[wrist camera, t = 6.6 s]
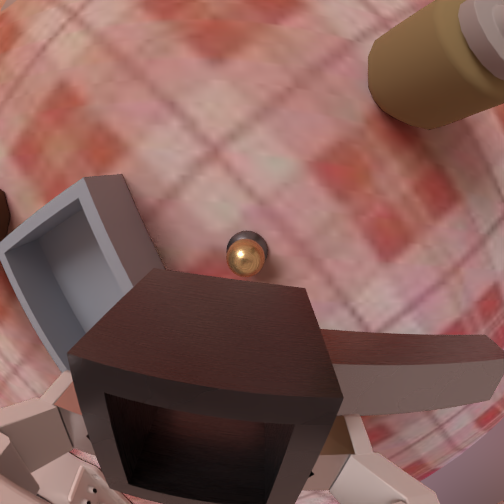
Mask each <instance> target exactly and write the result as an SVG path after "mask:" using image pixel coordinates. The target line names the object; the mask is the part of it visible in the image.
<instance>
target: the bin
mask: <svg viewBox="0 0 504 504" xmlns="http://www.w3.org/2000/svg"><path fill="white" fill-rule="evenodd" d="M0 261H1V263H2V265H3V268H4V270H5V272H6V274H7V277H8V279H9V281H10V283H11V285H12V287H13V290H14V292H15V294H16V296H17V298H18V300H19V302H20V304H21V306H22V307H23V309H24V311H25V313H26V315H27V317H28V319H29V320H30V322H31V324H32V326H33V328H34V329H35V331H36V333H37V334H38V336H39V338H40V339H41V341H42V343H43V344H44V346H45V348H46V349H47V351H48V352H49V354H50V356H51V357H52V359H53V360H54V362H55V363H56V365H57V366H58V368H59V369H60V371H61V372H62V373H63V372H64V371H67V370H69V371H70V367H69V362H68V357H67V352H68V351H69V350H70V349H71V348H72V347H73V346H74V345H75V344H76V343H77V342H78V341H79V340H80V339H81V338H82V337H83V336H84V335H85V334H86V333H87V332H88V331H89V330H90V329H91V328H92V327H93V326H94V325H95V324H96V323H97V322H98V321H99V320H100V319H101V318H102V317H103V316H104V315H105V314H106V313H107V312H108V311H109V310H110V309H111V308H112V307H113V306H114V305H115V304H116V303H117V302H118V301H119V300H120V299H121V298H122V297H123V296H125V295H126V294H127V293H128V292H129V291H130V290H131V289H132V288H133V287H134V286H135V285H136V284H137V283H138V282H139V281H140V280H141V279H142V278H144V277H145V276H146V275H147V274H148V273H149V272H150V271H151V270H152V269H153V268H156V269H163V270H166V269H165V267H164V265H163V263H162V261H161V259H160V257H159V255H158V253H157V251H156V249H155V247H154V245H153V243H152V241H151V239H150V236H149V234H148V232H147V230H146V228H145V226H144V224H143V221H142V219H141V217H140V215H139V213H138V210H137V208H136V206H135V204H134V201H133V199H132V197H131V194H130V192H129V190H128V187H127V185H126V183H125V180H124V178H123V175H122V174H117V175H104V176H93V177H83V178H82V179H81V180H79V181H78V182H76V183H75V184H73V185H72V186H70V187H69V188H68V189H66V190H65V191H63V192H62V193H61V194H59V195H58V196H57V197H55V198H54V199H52V200H51V201H50V202H48V203H47V204H46V205H45V206H43V207H42V208H41V209H39V210H38V211H37V212H36V213H34V214H33V215H32V216H31V217H29V218H28V219H27V220H26V221H24V222H23V223H22V224H21V225H20V226H18V227H17V228H16V229H15V230H14V231H12V232H11V233H10V234H9V235H8V236H7V237H6V238H4V239H3V240H2V241H1V242H0Z"/></svg>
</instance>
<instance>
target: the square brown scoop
mask: <svg viewBox="0 0 504 504" xmlns="http://www.w3.org/2000/svg"><path fill="white" fill-rule="evenodd" d="M67 357H68V362H69V367H70V371H71V376H72V380H73V384H74V388H75V392H76V395H77V399H78V403H79V406H80V410H81V413H82V416H83V420H84V423H85V426H86V429H87V432H88V435H89V438H90V441H91V444H92V447H93V449H94V452H95V455H96V457H97V460H98V462H99V465H100V467H101V470H102V472H103V475H104V477H105V479H106V482H107V484H108V486H109V488H110V489H113V490H116V491H119V492H122V493H125V494H129V495H132V496H135V497H139V498H142V499H146V500H150V501H154V502H158V503H162V504H295V502H296V500H297V498H298V496H299V495H300V493H301V491H302V489H303V487H304V485H305V483H306V481H307V479H308V477H309V475H310V473H311V471H312V469H313V467H314V465H315V463H316V461H317V459H318V457H319V455H320V453H321V450H322V448H323V446H324V444H325V442H326V439H327V437H328V435H329V433H330V430H331V428H332V426H333V423H334V421H335V419H336V416H337V415H342V414H359V415H360V416H365V415H385V414H399V413H410V412H419V411H428V410H436V409H443V408H449V407H456V406H462V405H467V404H472V403H478V402H482V401H487V400H490V398H491V397H492V395H493V393H494V391H495V389H496V388H497V386H498V384H499V382H500V380H501V378H502V376H503V374H504V350H502V349H501V348H500V347H499V346H498V345H497V344H496V343H494V342H493V341H492V340H491V339H490V338H489V337H487V336H486V335H420V334H391V333H371V332H354V331H340V330H327V329H320V328H319V325H318V322H317V319H316V317H315V314H314V311H313V308H312V306H311V303H310V300H309V298H308V295H307V292H306V289H305V288H299V287H291V286H282V285H274V284H266V283H258V282H250V281H242V280H234V279H227V278H219V277H212V276H205V275H198V274H191V273H184V272H177V271H170V270H163V269H156V268H153V269H152V270H151V271H150V272H149V273H148V274H147V275H146V276H145V277H144V278H142V279H141V280H140V281H139V282H138V283H137V284H136V285H135V286H134V287H133V288H132V289H131V290H130V291H129V292H128V293H127V294H126V295H125V296H123V297H122V298H121V299H120V300H119V301H118V302H117V303H116V304H115V305H114V306H113V307H112V308H111V309H110V310H109V311H108V312H107V313H106V314H105V315H104V316H103V317H102V318H101V319H100V320H99V321H98V322H97V323H96V324H95V325H94V326H93V327H92V328H91V329H90V330H89V331H88V332H87V333H86V334H85V335H84V336H83V337H82V338H81V339H80V340H79V341H78V342H77V343H76V344H75V345H74V346H73V347H72V348H71V349H70V350H69V351H68V352H67Z"/></svg>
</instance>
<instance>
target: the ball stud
mask: <svg viewBox="0 0 504 504" xmlns="http://www.w3.org/2000/svg"><path fill="white" fill-rule="evenodd" d="M266 258H267V245H266V242H265V241H264V239H263V238H262V237H261V236H260V235H259V234H257V233H255V232H252V231H242V232H239V233H237V234H235V235H234V236H233V237H232V238H231V239H230V241H229V243H228V245H227V256H226V260H227V264H228V267H229V268H230V270H231V271H232V272H233V273H235V274H236V275H238V276H241V277H250V276H253V275H255V274H257V273H258V272H259V271H260V270H261V269H262V267H263V265H264V262H265V260H266Z"/></svg>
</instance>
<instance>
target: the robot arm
mask: <svg viewBox="0 0 504 504" xmlns="http://www.w3.org/2000/svg"><path fill="white" fill-rule="evenodd" d="M73 448H75V449H78V450H81V451H83V452H86V453H89V454H92V455H95V452H94V449H93V447H92V444H91V441H90V438H89V435H88V432H87V429H86V426H85V423H84V420H83V416H82V413H81V410H80V406H79V403H78V399H77V395H76V392H75V388H74V384H73V380H72V376H71V371H69V370H67V371H64V372H63V373H62V374H61V375H60V376H59V377H58V378H57V379H56V380H55V382H54V383H53V384H52V385H51V386H50V387H49V388H48V390H47V391H46V392H45V393H44V394H43V395H42V396H41V398H40V399H38V398H33V399H29V400H26V401H23V402H20V403H17V404H14V405H10V406H7V407H4V408H1V409H0V504H132V503H131V502H130V501H129V500H128V499H127V498H126V497H125V496H124V495H123V494H122V493H121V492H119V491H116V490H113V489H110V488H109V486H108V484H107V482H106V479H105V477H104V475H103V473H102V472H101V470H100V469H99V468H97V467H96V466H94V465H92V464H90V463H87V462H85V461H82V460H80V459H79V458H77V457H75V456H74V455H72V454H71V453H69V451H71V450H73ZM95 456H96V455H95ZM302 490H330V491H329V492H330V493H331V494H332V495H333V496H334V497H335V498H336V499H337V501H338V502H339V503H340V504H440V503H439V500H438V498H437V496H436V493H435V492H434V491H432V490H431V489H429V488H428V487H426V486H425V485H424V484H422V483H421V482H419V481H418V480H416V479H415V478H413V477H412V476H410V475H409V474H408V473H406V472H405V471H403V470H402V469H400V468H399V467H398V466H396V465H395V464H393V463H392V462H391V461H389V460H388V459H387V458H385V457H384V456H383V455H381V454H380V453H374V452H373V449H372V446H371V443H370V440H369V438H368V435H367V432H366V430H365V427H364V424H363V421H362V419H361V416H360V415H359V414H342V415H337V416H336V419H335V421H334V423H333V426H332V428H331V430H330V433H329V435H328V437H327V439H326V442H325V444H324V446H323V448H322V450H321V453H320V455H319V457H318V459H317V461H316V463H315V465H314V467H313V469H312V471H311V473H310V475H309V477H308V479H307V481H306V483H305V485H304V487H303V489H302ZM497 504H504V500H503V501H501V502H499V503H497Z"/></svg>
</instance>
